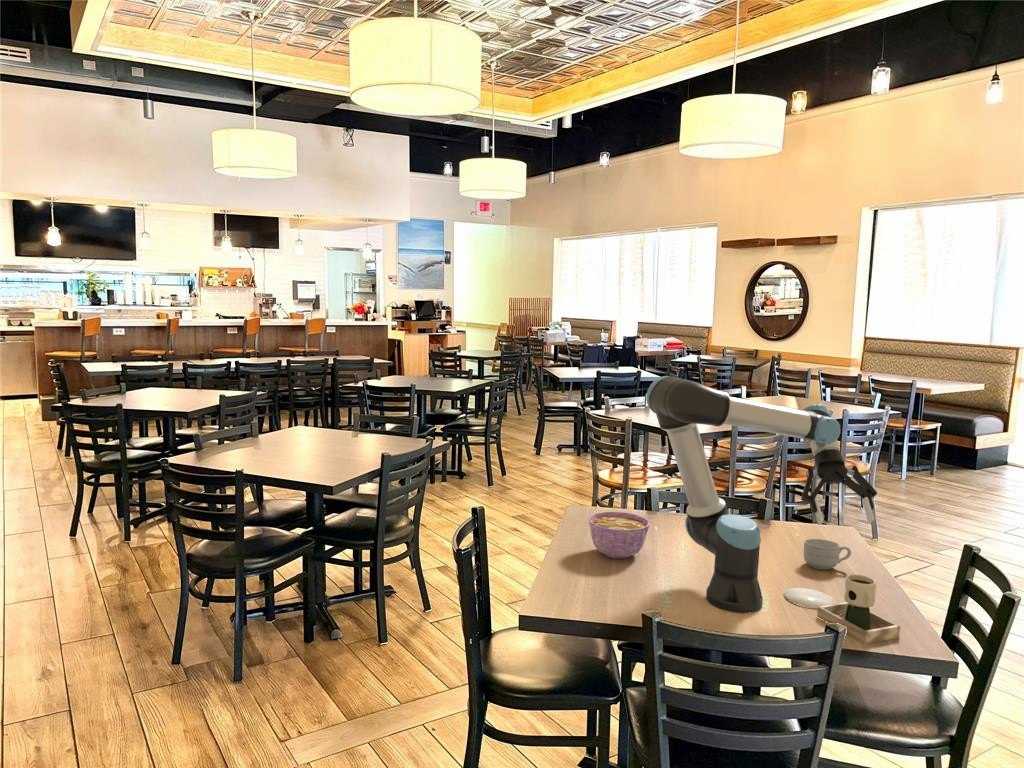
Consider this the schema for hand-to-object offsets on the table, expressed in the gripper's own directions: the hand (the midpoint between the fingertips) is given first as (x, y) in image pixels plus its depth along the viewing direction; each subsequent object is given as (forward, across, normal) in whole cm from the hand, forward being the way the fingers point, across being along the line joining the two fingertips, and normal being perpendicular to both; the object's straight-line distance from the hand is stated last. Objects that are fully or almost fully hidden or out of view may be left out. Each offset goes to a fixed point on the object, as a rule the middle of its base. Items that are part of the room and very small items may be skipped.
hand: (846, 521), depth 196 cm
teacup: (+1, -4, -37) cm, 38 cm away
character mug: (+28, +3, -4) cm, 28 cm away
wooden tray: (+28, +3, -4) cm, 28 cm away
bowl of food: (-6, +62, -35) cm, 71 cm away
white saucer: (+16, +10, -16) cm, 25 cm away
